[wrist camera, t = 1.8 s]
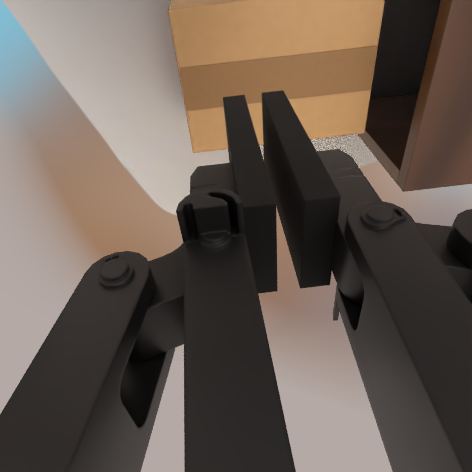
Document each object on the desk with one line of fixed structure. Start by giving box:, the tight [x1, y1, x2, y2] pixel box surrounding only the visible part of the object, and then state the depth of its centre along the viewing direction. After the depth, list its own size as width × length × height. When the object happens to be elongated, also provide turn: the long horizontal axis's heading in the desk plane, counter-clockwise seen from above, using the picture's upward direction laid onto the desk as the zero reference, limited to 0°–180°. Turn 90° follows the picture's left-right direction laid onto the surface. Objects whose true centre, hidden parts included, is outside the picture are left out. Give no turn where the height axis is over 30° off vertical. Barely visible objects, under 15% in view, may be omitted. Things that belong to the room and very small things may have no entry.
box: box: [168, 0, 385, 153], centre depth 31 cm, size 14×10×12 cm
